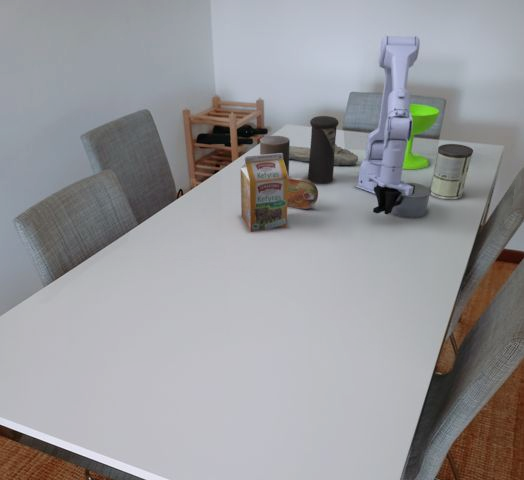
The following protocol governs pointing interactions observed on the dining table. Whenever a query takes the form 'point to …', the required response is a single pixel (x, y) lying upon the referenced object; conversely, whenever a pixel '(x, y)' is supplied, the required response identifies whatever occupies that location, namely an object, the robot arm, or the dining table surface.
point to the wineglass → (421, 122)
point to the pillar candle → (276, 147)
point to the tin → (301, 193)
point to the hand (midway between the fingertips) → (384, 212)
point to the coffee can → (450, 171)
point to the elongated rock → (339, 157)
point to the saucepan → (410, 202)
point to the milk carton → (264, 192)
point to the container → (322, 149)
